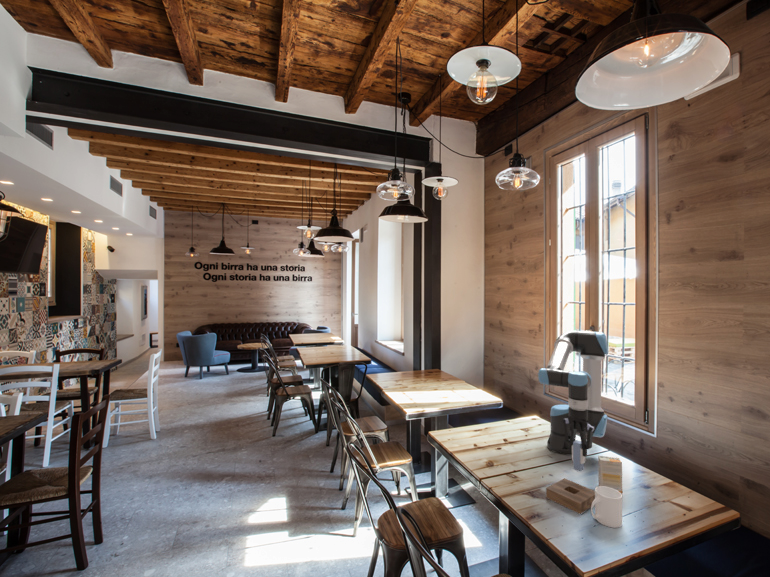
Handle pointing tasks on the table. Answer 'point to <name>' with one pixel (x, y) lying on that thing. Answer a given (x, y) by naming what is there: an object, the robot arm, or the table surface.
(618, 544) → the table surface
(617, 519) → the mug
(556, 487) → the socket block
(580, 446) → the peg
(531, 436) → the table surface
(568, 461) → the table surface
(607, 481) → the supplement box
